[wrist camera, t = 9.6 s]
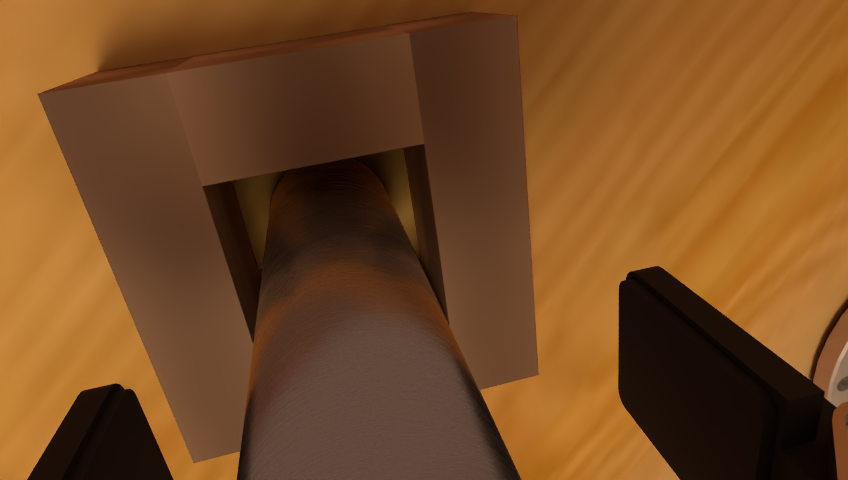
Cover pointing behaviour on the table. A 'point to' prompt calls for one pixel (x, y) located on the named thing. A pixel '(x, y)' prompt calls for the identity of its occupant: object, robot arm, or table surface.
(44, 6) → the table surface
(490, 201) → the brown hollow tray
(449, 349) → the round metal rod
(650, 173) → the table surface
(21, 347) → the table surface
